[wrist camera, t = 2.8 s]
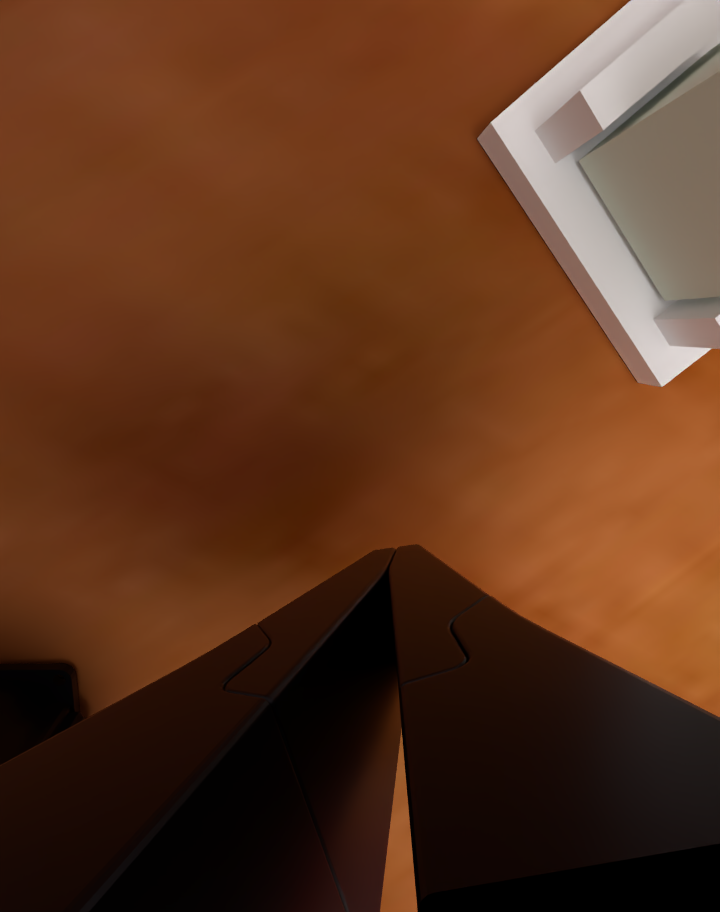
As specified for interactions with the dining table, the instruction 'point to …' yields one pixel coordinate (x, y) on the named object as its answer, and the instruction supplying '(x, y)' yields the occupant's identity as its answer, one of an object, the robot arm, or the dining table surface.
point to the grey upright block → (669, 182)
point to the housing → (574, 196)
